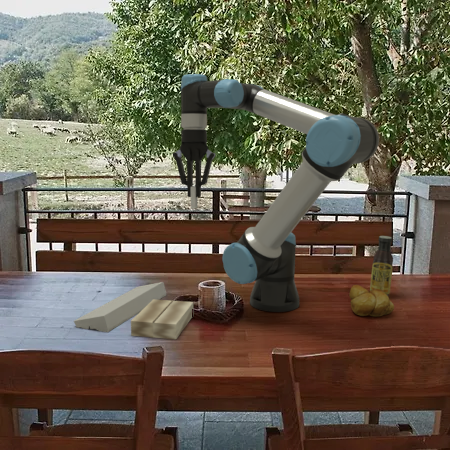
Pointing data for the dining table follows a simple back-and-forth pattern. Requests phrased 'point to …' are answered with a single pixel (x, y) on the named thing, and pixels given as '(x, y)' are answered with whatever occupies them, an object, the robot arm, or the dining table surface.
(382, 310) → the bread roll
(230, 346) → the dining table surface
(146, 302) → the decorative molding
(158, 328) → the floorboards
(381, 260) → the sauce bottle
